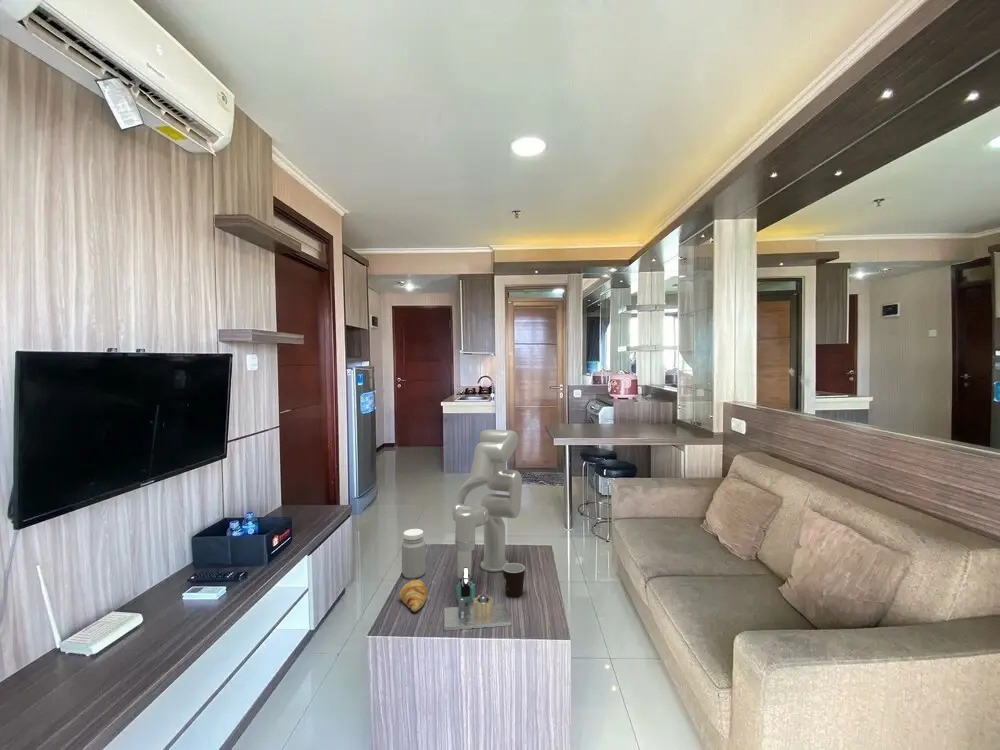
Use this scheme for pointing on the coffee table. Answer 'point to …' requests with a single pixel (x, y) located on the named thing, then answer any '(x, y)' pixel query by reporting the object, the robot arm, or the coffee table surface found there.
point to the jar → (413, 554)
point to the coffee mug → (513, 579)
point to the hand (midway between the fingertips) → (464, 590)
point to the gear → (472, 592)
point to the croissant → (414, 594)
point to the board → (476, 614)
